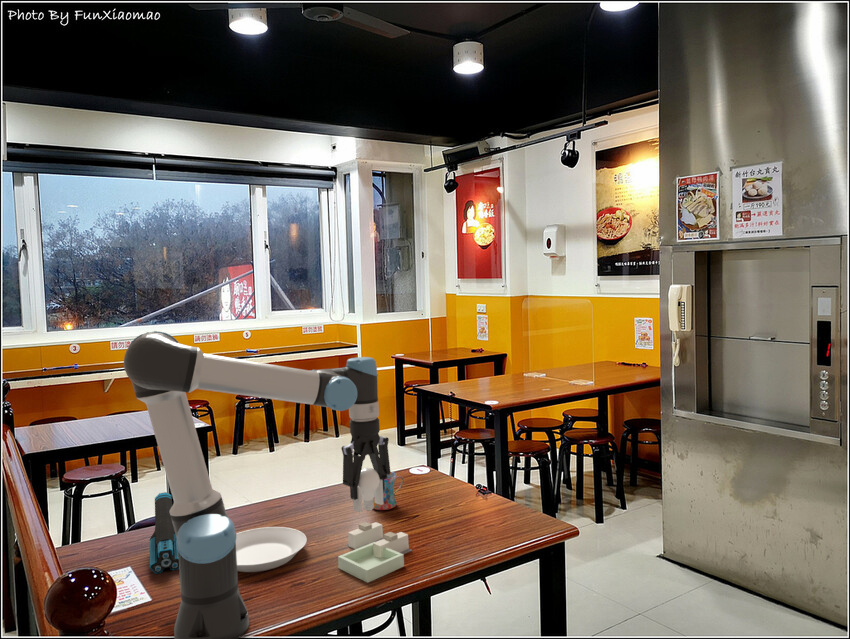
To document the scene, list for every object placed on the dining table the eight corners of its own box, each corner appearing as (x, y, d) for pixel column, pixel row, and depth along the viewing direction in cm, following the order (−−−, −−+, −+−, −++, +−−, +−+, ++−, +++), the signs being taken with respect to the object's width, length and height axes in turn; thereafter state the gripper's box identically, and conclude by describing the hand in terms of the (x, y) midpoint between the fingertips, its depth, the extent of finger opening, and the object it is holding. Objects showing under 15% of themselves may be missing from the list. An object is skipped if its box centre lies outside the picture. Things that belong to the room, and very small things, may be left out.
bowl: (209, 585, 156) (208, 571, 156) (215, 546, 180) (214, 534, 180) (311, 569, 163) (310, 556, 163) (303, 534, 187) (302, 522, 187)
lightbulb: (377, 515, 158) (375, 472, 157) (353, 514, 159) (351, 471, 159) (384, 506, 164) (382, 464, 163) (360, 505, 165) (358, 464, 165)
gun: (152, 596, 165) (148, 548, 160) (151, 535, 188) (148, 492, 183) (184, 589, 168) (181, 542, 163) (180, 530, 191) (177, 487, 186)
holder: (384, 565, 165) (383, 543, 165) (345, 547, 177) (344, 526, 177) (412, 553, 172) (411, 531, 171) (373, 536, 184) (372, 516, 184)
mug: (376, 514, 200) (375, 481, 199) (365, 505, 208) (364, 474, 208) (410, 507, 206) (409, 474, 205) (398, 498, 214) (397, 468, 213)
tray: (367, 582, 154) (366, 570, 154) (338, 568, 163) (337, 556, 162) (404, 566, 162) (403, 554, 162) (374, 553, 171) (374, 542, 171)
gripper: (342, 427, 151) (347, 521, 152) (402, 413, 164) (406, 500, 166) (324, 423, 156) (329, 514, 158) (383, 410, 170) (387, 494, 171)
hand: (368, 507), depth 162 cm, fingers closed on lightbulb, 6 cm apart
